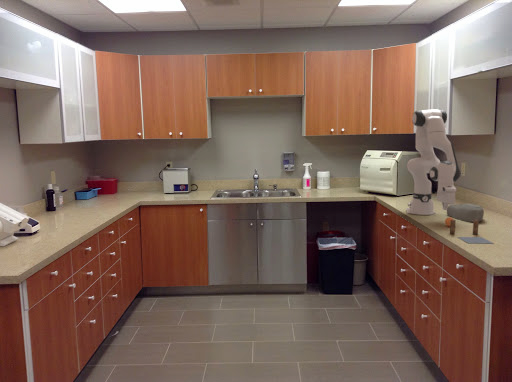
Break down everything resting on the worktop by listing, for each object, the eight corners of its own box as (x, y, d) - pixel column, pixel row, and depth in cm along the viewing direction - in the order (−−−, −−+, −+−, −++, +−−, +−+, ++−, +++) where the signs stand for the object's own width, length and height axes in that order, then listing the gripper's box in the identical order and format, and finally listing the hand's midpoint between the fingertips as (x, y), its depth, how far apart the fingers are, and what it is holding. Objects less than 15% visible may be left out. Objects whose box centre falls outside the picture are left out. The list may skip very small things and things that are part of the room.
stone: (494, 210, 272) (460, 209, 274) (492, 226, 274) (459, 224, 276) (477, 201, 299) (446, 199, 301) (475, 215, 301) (445, 214, 303)
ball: (443, 225, 269) (443, 216, 268) (452, 225, 268) (452, 216, 268) (446, 227, 263) (447, 218, 262) (456, 227, 263) (456, 218, 262)
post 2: (471, 233, 247) (472, 219, 246) (476, 233, 247) (477, 219, 246) (473, 234, 244) (474, 220, 243) (478, 234, 244) (479, 220, 243)
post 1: (448, 233, 247) (449, 219, 246) (453, 233, 247) (454, 219, 246) (450, 234, 245) (451, 220, 244) (455, 234, 245) (456, 220, 244)
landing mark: (457, 237, 239) (457, 236, 239) (481, 237, 238) (481, 237, 238) (467, 243, 226) (467, 243, 226) (493, 243, 225) (493, 243, 225)
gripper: (434, 186, 282) (433, 207, 284) (446, 189, 262) (446, 212, 263) (444, 185, 282) (443, 207, 283) (457, 189, 261) (456, 212, 263)
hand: (445, 209), depth 273 cm, fingers closed
